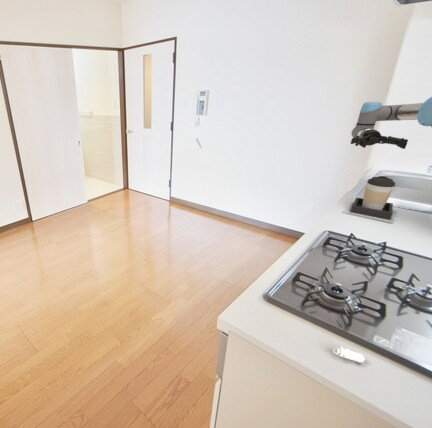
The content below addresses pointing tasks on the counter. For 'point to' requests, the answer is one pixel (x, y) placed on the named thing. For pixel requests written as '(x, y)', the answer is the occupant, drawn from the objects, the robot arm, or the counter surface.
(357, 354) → the small white plastic part
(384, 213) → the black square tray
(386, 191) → the coffee cup
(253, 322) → the counter surface
